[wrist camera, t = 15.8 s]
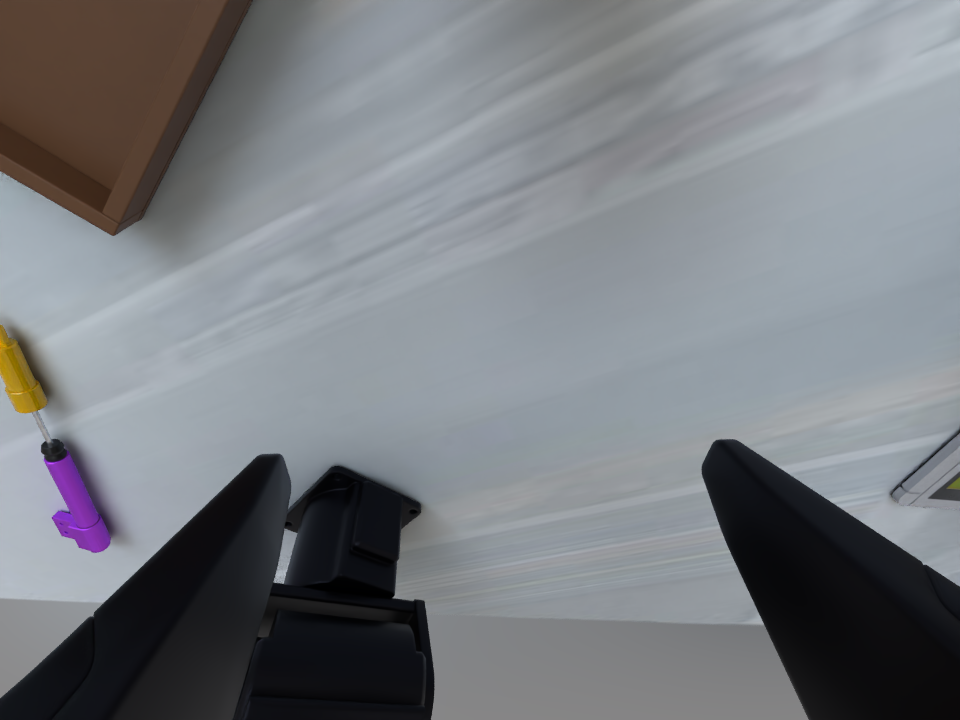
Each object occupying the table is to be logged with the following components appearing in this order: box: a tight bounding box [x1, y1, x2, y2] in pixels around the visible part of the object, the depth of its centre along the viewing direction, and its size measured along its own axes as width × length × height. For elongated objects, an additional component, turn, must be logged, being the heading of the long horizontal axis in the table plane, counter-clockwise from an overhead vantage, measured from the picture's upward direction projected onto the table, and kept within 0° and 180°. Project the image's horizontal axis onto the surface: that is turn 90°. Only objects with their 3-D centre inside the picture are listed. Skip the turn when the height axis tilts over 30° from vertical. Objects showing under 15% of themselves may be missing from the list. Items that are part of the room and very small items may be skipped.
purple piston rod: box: [0, 325, 111, 553], centre depth 23 cm, size 3×1×16 cm
